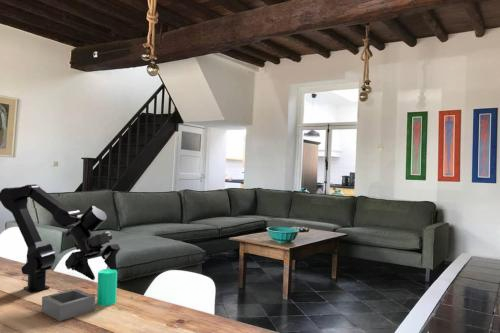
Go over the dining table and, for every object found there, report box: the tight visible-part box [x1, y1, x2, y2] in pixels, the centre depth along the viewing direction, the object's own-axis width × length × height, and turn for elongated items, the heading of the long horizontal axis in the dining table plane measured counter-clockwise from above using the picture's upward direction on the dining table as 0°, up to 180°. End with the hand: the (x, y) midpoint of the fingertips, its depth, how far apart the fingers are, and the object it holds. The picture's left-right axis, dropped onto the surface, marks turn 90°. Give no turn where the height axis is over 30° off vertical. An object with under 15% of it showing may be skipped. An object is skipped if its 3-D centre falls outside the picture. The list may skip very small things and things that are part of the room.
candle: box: [96, 268, 118, 307], centre depth 128 cm, size 6×6×12 cm
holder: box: [41, 288, 96, 322], centre depth 120 cm, size 11×11×4 cm
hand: (105, 275), depth 129 cm, fingers open, 9 cm apart
